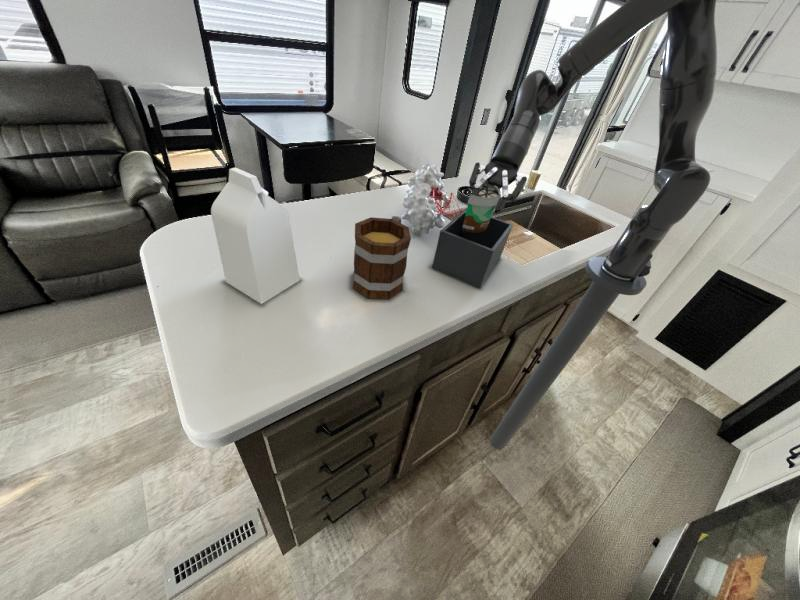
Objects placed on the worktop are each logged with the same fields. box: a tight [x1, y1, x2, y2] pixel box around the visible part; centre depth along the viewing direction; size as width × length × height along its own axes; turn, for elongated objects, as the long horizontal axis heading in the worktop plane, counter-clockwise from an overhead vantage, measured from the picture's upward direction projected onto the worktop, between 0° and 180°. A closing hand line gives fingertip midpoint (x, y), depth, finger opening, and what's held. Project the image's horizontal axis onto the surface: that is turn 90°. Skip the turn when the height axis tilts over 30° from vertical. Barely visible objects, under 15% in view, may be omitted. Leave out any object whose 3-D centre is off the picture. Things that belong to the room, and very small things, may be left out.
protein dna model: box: [400, 162, 463, 236], centre depth 106 cm, size 20×18×25 cm
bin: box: [431, 207, 514, 289], centre depth 91 cm, size 15×19×12 cm
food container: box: [462, 185, 502, 233], centre depth 84 cm, size 12×6×10 cm, turn 148°
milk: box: [210, 167, 301, 305], centre depth 69 cm, size 12×12×26 cm
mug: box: [352, 215, 412, 300], centre depth 80 cm, size 20×14×15 cm
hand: (483, 207), depth 82 cm, fingers closed on food container, 6 cm apart
